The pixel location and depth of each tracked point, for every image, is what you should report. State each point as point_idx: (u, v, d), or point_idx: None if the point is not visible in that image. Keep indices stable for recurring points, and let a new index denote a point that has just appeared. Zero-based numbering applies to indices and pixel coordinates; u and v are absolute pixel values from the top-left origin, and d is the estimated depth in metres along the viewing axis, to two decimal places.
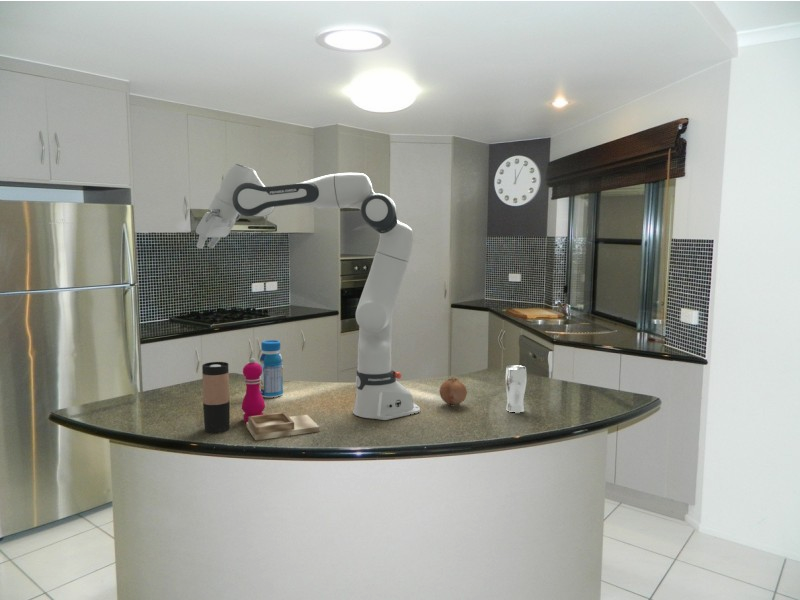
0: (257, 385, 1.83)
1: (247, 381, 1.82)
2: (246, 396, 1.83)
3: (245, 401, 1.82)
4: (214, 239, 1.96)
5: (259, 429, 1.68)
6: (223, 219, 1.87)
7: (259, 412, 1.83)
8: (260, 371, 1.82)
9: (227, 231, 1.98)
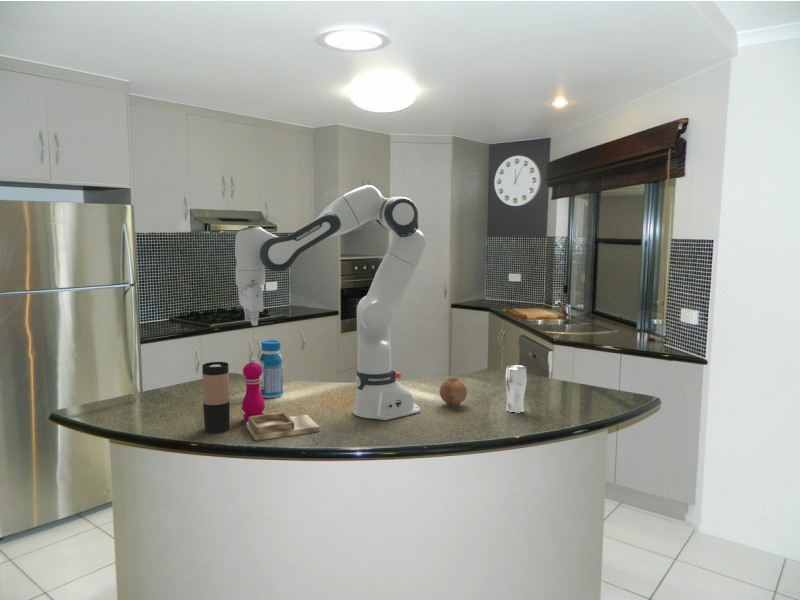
0: (257, 385, 1.83)
1: (247, 381, 1.82)
2: (246, 396, 1.83)
3: (245, 401, 1.82)
4: (247, 311, 1.87)
5: (259, 429, 1.68)
6: None
7: (259, 412, 1.83)
8: (260, 371, 1.82)
9: None
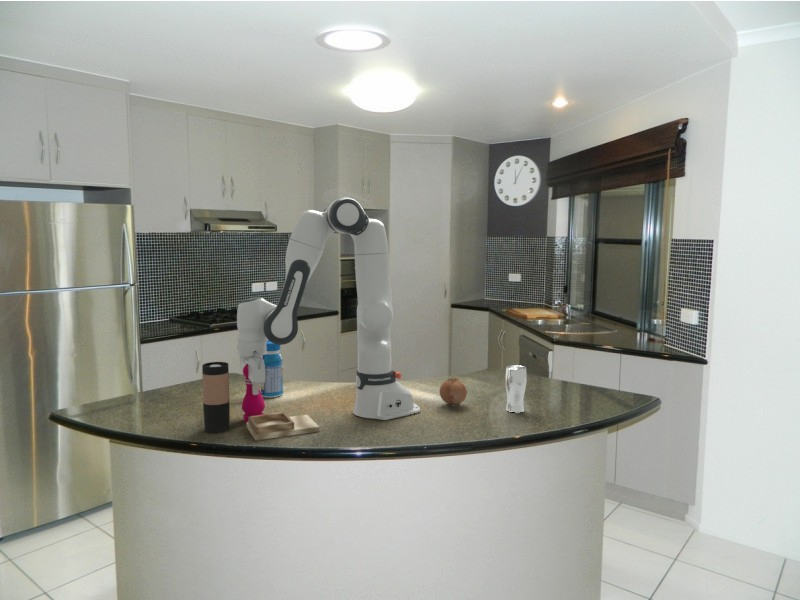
0: None
1: (247, 381, 1.82)
2: (246, 396, 1.83)
3: (245, 401, 1.82)
4: None
5: (259, 429, 1.68)
6: (260, 356, 1.82)
7: (259, 412, 1.83)
8: None
9: None
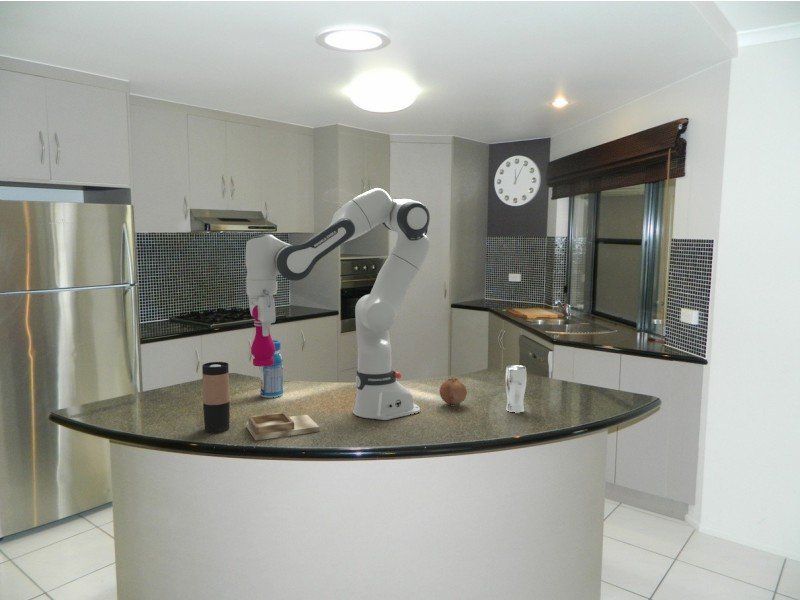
0: None
1: (256, 323, 1.73)
2: (255, 339, 1.74)
3: (255, 343, 1.74)
4: None
5: (259, 429, 1.68)
6: (270, 296, 1.73)
7: (269, 356, 1.75)
8: None
9: None
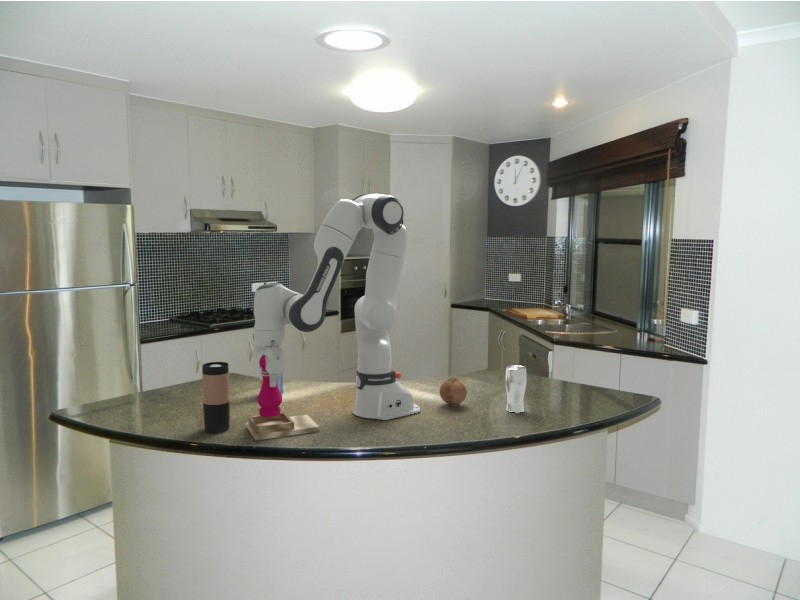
0: None
1: (264, 373, 1.71)
2: (262, 389, 1.72)
3: (262, 394, 1.71)
4: None
5: (259, 429, 1.68)
6: (278, 346, 1.71)
7: (276, 406, 1.72)
8: None
9: None
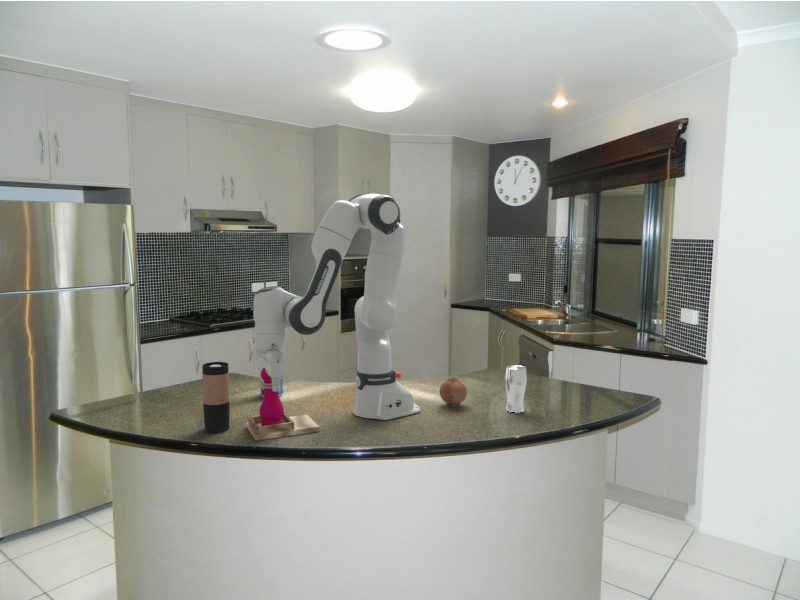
0: None
1: (265, 385, 1.71)
2: (264, 401, 1.72)
3: (263, 406, 1.72)
4: None
5: (259, 429, 1.68)
6: (278, 350, 1.71)
7: (278, 418, 1.73)
8: None
9: None
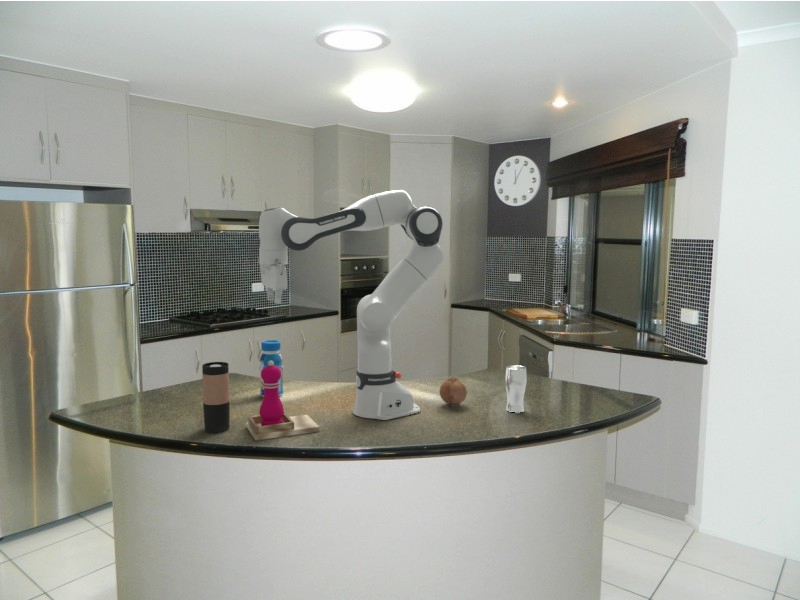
0: (276, 389, 1.73)
1: (265, 385, 1.71)
2: (264, 401, 1.72)
3: (263, 406, 1.72)
4: (269, 291, 1.92)
5: (259, 429, 1.68)
6: None
7: (278, 418, 1.73)
8: (279, 374, 1.72)
9: None
